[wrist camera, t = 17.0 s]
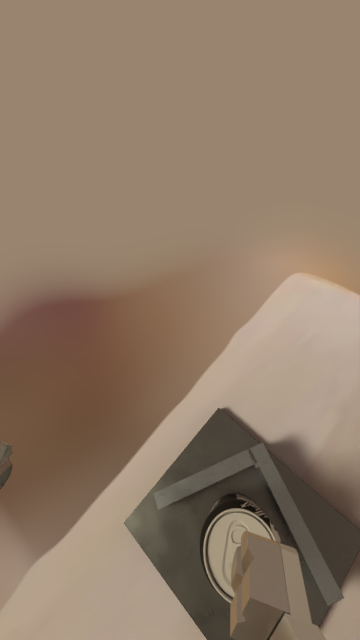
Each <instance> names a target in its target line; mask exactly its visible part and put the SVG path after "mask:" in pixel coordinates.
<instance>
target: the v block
mask: <svg viewBox="0 0 360 640" xmlns="http://www.w3.org/2000/svg"><path fill="white" fill-rule="evenodd" d="M228 494H240V495H243V496H245V497H247V498H249V499H250V500H252V501H253V502H254V503H255V504H256V505H257V506H258V507H259V508H260V509H261V510H262V511H263V512H264V513H265V514H266V516H267V517H268V518H269V519H270V520H271V522H272V523H273V525H274V527H275V528H276V530H277V532H278V535H279V537H280V540H281V544H284V545H287V546H290V547H293V548H295V549H296V551H297V553H298V556H299V561H300V566H301V571H302V576H303V580H304V585H305V590H306V595H307V600H308V605H309V610H310V615H311V620H312V624H314V625H317V626H318V627H319V625H320V623H321V621H322V619H323V617H324V616H325V614H326V612H327V610H328V608H329V606H330V605H331V604H333V603H335V602H337V601H339V600H341V599H343V598H344V597H343V595H342V593H341V591H340V589H339V587H340V586H341V584H342V582H343V580H344V578H345V576H346V574H347V572H348V571H349V569H350V567H351V565H352V563H353V561H354V559H355V557H356V556H357V554H358V552H359V550H360V530H359V529H358V528H356V527H355V526H354V525H353V524H352V523H351V522H350V521H348V520H347V519H346V518H345V517H344V516H343V515H341V514H340V513H339V512H338V511H337V510H336V509H335V508H333V507H332V506H331V505H330V504H329V503H328V502H327V501H325V500H324V499H323V498H322V497H321V496H320V495H318V494H317V493H316V492H315V491H314V490H313V489H312V488H310V487H309V486H308V485H307V484H306V483H305V482H304V481H302V480H301V479H300V478H299V477H298V476H297V475H295V474H294V473H293V472H292V471H291V470H290V469H289V468H287V467H286V466H285V465H284V464H283V463H282V462H280V461H279V460H278V459H277V458H276V457H275V456H274V455H272V454H271V453H270V452H269V451H268V450H267V449H266V448H265V446H264V444H263V442H262V443H259V442H257V441H256V440H255V439H254V438H253V437H252V436H251V435H249V434H248V433H247V432H246V431H245V430H244V429H243V428H241V427H240V426H239V425H238V424H237V423H236V422H234V421H233V420H232V419H231V418H230V417H229V416H228V415H226V414H225V413H224V412H223V411H222V410H221V409H220V408H218V409H217V410H216V412H215V413H214V414H213V415H212V417H211V418H210V419H209V420H208V421H207V423H206V424H205V425H204V426H203V427H202V429H201V430H200V431H199V432H198V434H197V435H196V436H195V437H194V438H193V440H192V441H191V442H190V443H189V444H188V446H187V447H186V448H185V449H184V451H183V452H182V453H181V454H180V455H179V457H178V458H177V459H176V460H175V461H174V463H173V464H172V465H171V466H170V468H169V469H168V470H167V471H166V472H165V474H164V475H163V476H162V477H161V478H160V480H159V481H158V482H157V483H156V485H155V486H154V487H153V488H152V489H151V491H150V492H149V493H148V494H147V496H146V497H145V498H144V499H143V500H142V502H141V503H140V504H139V505H138V506H137V508H136V509H135V510H134V511H133V513H132V514H131V515H130V516H129V517H128V519H127V520H126V521H125V522H124V524H125V526H126V527H127V528H128V530H129V531H130V533H131V534H132V535H133V537H134V538H135V540H136V541H137V542H138V544H139V545H140V547H141V548H142V549H143V551H144V552H145V553H146V555H147V556H148V558H149V559H150V560H151V562H152V563H153V565H154V566H155V567H156V569H157V570H158V572H159V573H160V574H161V576H162V577H163V579H164V580H165V581H166V583H167V584H168V586H169V587H170V588H171V590H172V591H173V593H174V594H175V595H176V597H177V598H178V600H179V601H180V602H181V604H182V605H183V607H184V608H185V609H186V611H187V612H188V614H189V615H190V616H191V618H192V619H193V621H194V622H195V623H196V625H197V626H198V628H199V629H200V630H201V632H202V633H203V635H204V636H205V637H206V639H207V640H235V639H233V638H231V637H230V605H231V603H229V602H227V601H226V600H225V599H224V598H222V597H221V596H220V595H219V594H218V593H217V592H216V591H215V589H214V588H213V587H212V585H211V584H210V582H209V581H208V579H207V577H206V574H205V572H204V569H203V566H202V562H201V557H200V536H201V531H202V528H203V525H204V522H205V520H206V518H207V517H208V515H209V513H210V511H211V509H212V507H213V505H214V504H215V503H216V501H217V500H219V499H220V498H221V497H223V496H225V495H228Z"/></svg>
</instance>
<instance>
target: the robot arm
mask: <svg viewBox="0 0 360 640" xmlns="http://www.w3.org/2000/svg"><path fill="white" fill-rule="evenodd" d="M11 454H12V446H10V445H7V444H5V443H2V442H0V489H1V488H2V487H3V486H4V484H5V483H6V481H7V480H8V478H9V476H10V474H11V470H12V462H11V461H10V459H9V456H10V455H11ZM231 587H232V589H233V591H234V593H235V596H234V598H233V600H232V603H231V605H230V637H231V638H233V639H235V640H326V639H325V637H324V635H323V634H322V632H321V630H320V629H319V627H318V626H317V625H314V624H312V620H311V615H310V610H309V605H308V600H307V595H306V590H305V585H304V580H303V576H302V571H301V566H300V561H299V556H298V553H297V551H296V549H295V548H293V547H290V546H287V545H284V544H281V543H278V542H277V541H274V540H271V539H268V538H266V537H263V536H260V535H257V534H254V533H251V532H248V531H244V532H243V534H242V536H241V546H239V547H237V548H236V551H235V553H234V557H233V562H232V569H231Z"/></svg>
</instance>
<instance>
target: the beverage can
mask: <svg viewBox="0 0 360 640" xmlns="http://www.w3.org/2000/svg"><path fill="white" fill-rule="evenodd" d="M244 531H248V532H251V533H254V534H257V535H260V536H263V537H266V538H268V539H271V540H274V541H277V542H278V543H281V540H280V537H279V535H278V532H277V530H276V528H275V527H274V525H273V523H272V522H271V520H270V519H269V518H268V517H267V516H266V514H265V513H264V512H263V511H262V510H261V509H260V508H259V507H258V506H257V505H256V504H255V503H254V502H253V501H252V500H250V499H249V498H247V497H245V496H243V495H240V494H228V495H225V496H223V497H221V498H220V499H219V500H217V501H216V503H215V504H214V505H213V507H212V509H211V511H210V513H209V515H208V517H207V518H206V520H205V522H204V525H203V528H202V531H201V536H200V557H201V562H202V566H203V569H204V572H205V574H206V577H207V579H208V581H209V582H210V584H211V585H212V587H213V588H214V589H215V591H216V592H217V593H218V594H219V595H220V596H221V597H222V598H224V599H225V600H226V601H227V602H229V603H232V600H233V598H234V596H235V593H234V591H233V589H232V587H231V569H232V562H233V557H234V553H235V551H236V548H237V547H239V546H241V536H242V534H243V532H244Z"/></svg>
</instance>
